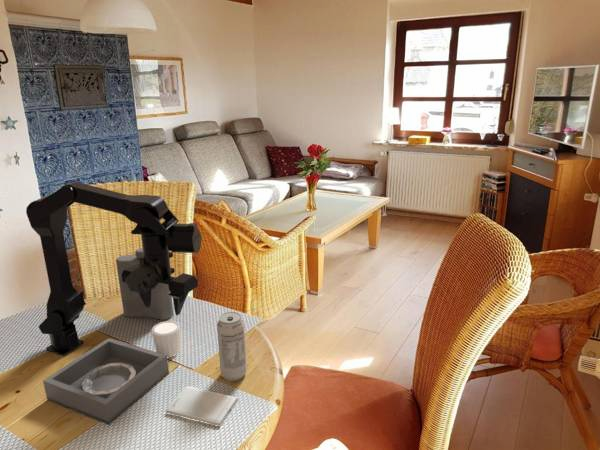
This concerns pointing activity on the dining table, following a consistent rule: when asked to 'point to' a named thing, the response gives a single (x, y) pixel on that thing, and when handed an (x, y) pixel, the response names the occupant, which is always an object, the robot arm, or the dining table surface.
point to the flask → (132, 300)
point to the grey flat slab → (202, 405)
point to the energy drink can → (231, 346)
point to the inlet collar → (103, 370)
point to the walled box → (106, 380)
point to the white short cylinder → (167, 337)
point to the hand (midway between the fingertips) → (162, 310)
